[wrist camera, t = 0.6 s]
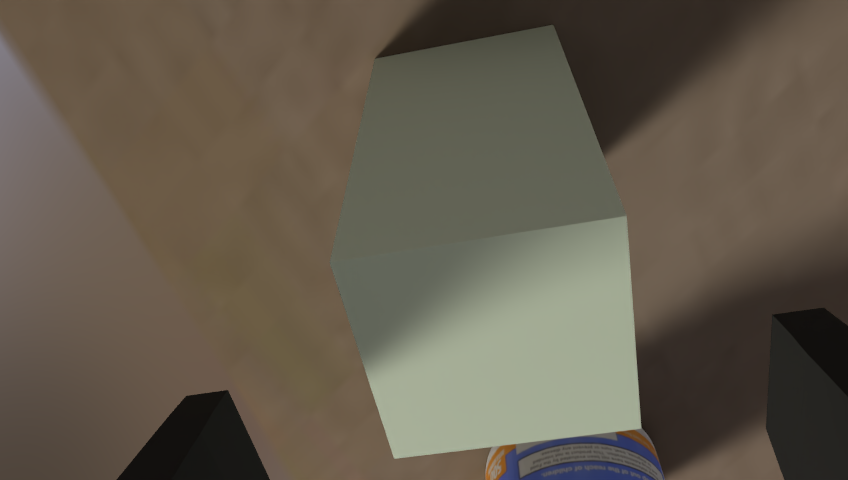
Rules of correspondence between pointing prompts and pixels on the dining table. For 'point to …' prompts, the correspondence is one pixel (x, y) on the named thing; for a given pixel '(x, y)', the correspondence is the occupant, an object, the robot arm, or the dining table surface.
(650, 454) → the pill bottle
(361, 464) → the dining table surface
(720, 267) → the dining table surface
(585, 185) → the peg
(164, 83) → the dining table surface
